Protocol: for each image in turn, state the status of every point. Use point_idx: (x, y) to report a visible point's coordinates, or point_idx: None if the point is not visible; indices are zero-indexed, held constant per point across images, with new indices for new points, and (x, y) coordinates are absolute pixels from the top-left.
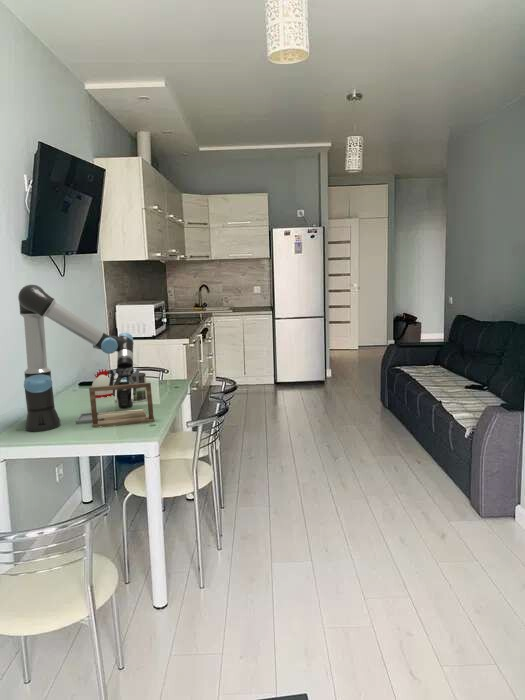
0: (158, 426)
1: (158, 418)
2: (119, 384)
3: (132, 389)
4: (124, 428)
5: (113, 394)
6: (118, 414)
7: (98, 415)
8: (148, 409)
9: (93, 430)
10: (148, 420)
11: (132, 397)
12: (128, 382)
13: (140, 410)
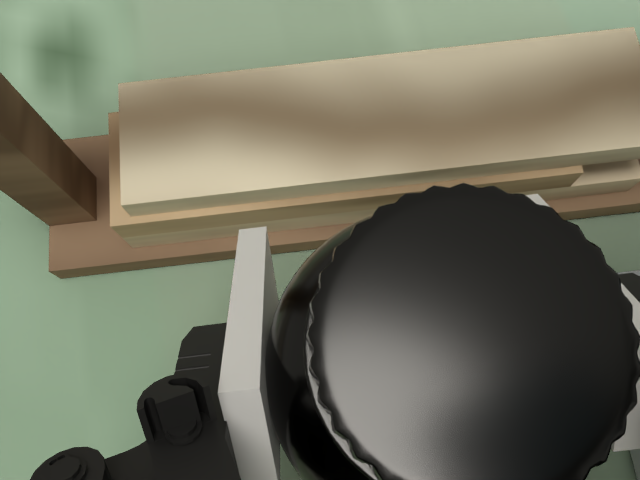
0: (12, 13)
1: (13, 276)
2: (562, 226)
3: (236, 346)
4: (311, 12)
5: (626, 273)
6: (397, 57)
7: (625, 37)
8: (49, 131)
9: (586, 7)
10: (100, 137)
11: (244, 239)
12: (311, 324)
13: (153, 146)
